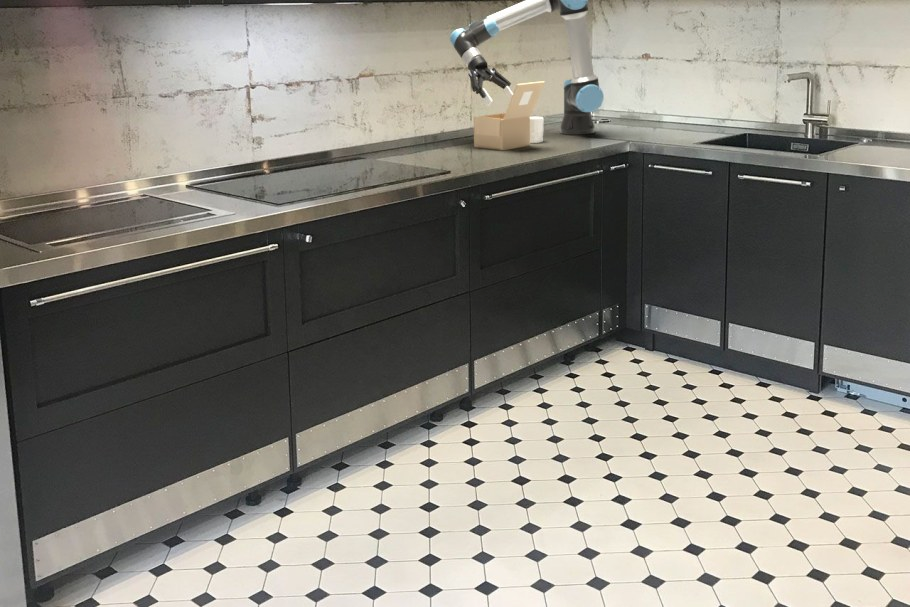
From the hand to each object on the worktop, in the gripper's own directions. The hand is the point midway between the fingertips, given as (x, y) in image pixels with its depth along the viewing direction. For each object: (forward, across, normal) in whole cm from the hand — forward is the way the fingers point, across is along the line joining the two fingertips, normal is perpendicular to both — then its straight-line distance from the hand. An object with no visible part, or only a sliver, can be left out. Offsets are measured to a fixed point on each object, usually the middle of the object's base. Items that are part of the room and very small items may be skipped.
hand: (502, 101), depth 410 cm
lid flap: (+7, -1, +9) cm, 11 cm away
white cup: (+14, -18, -12) cm, 26 cm away
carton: (+12, -1, -14) cm, 18 cm away
